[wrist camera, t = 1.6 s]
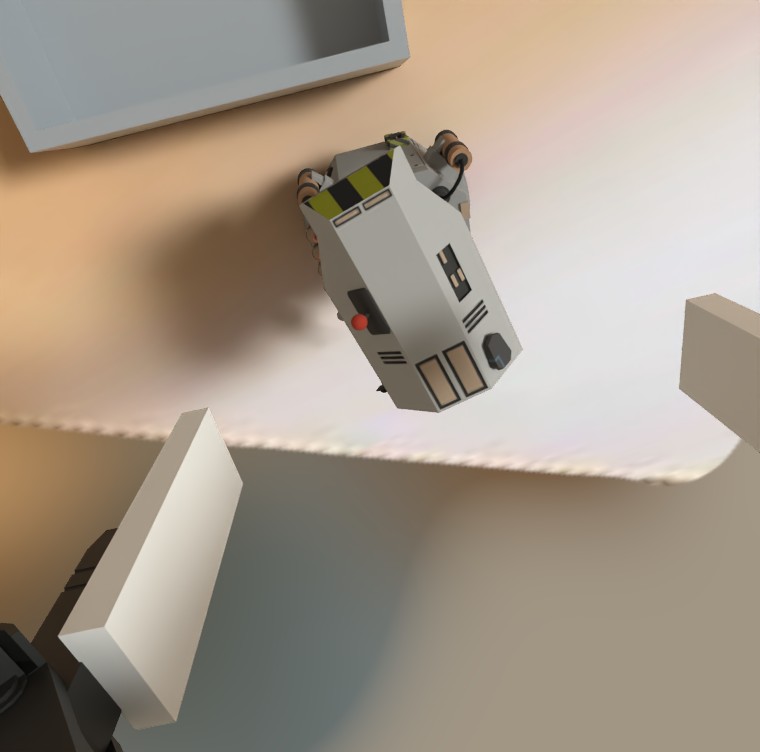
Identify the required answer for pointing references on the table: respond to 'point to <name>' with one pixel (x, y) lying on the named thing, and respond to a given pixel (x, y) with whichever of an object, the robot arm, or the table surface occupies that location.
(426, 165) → the figurine
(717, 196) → the table surface
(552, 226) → the table surface
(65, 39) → the bin
